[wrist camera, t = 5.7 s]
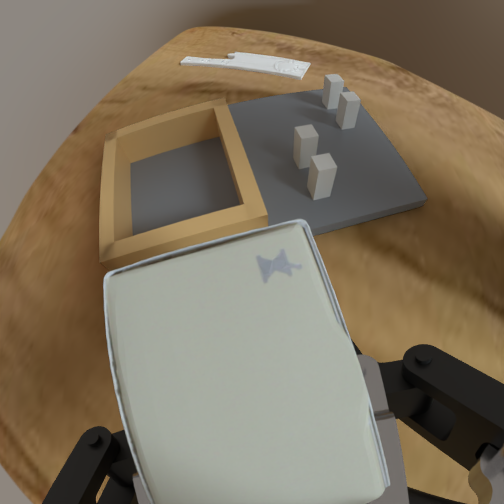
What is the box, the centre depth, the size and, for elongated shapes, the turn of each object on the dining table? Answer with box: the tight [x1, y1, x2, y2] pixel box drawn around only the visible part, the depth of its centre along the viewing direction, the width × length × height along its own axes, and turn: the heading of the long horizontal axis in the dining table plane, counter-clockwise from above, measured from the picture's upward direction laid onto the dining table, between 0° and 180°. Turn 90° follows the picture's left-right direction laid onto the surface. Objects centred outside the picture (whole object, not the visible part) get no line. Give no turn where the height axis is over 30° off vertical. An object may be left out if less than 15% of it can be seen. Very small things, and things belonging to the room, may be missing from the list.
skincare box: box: [103, 219, 390, 504], centre depth 10 cm, size 6×4×12 cm
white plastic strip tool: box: [180, 52, 311, 80], centre depth 29 cm, size 5×15×1 cm, turn 67°
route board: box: [99, 74, 427, 271], centre depth 20 cm, size 22×14×4 cm, turn 105°
